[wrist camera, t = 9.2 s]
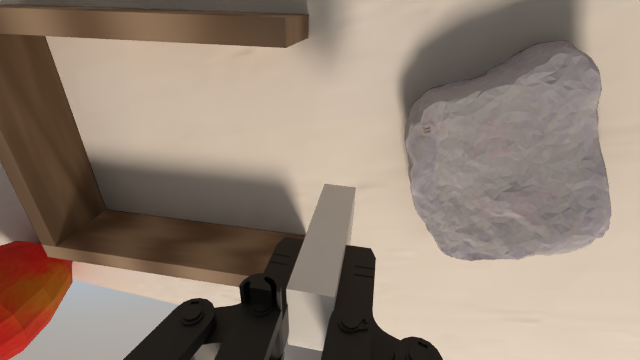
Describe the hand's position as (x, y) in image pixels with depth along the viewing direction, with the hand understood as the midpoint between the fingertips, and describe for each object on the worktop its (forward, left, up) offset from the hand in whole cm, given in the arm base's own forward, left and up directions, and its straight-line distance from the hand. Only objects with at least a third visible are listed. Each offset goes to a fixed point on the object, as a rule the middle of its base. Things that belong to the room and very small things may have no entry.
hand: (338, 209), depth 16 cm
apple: (+29, +14, -7) cm, 33 cm away
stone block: (-8, 0, -7) cm, 11 cm away
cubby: (+13, 0, -7) cm, 15 cm away
